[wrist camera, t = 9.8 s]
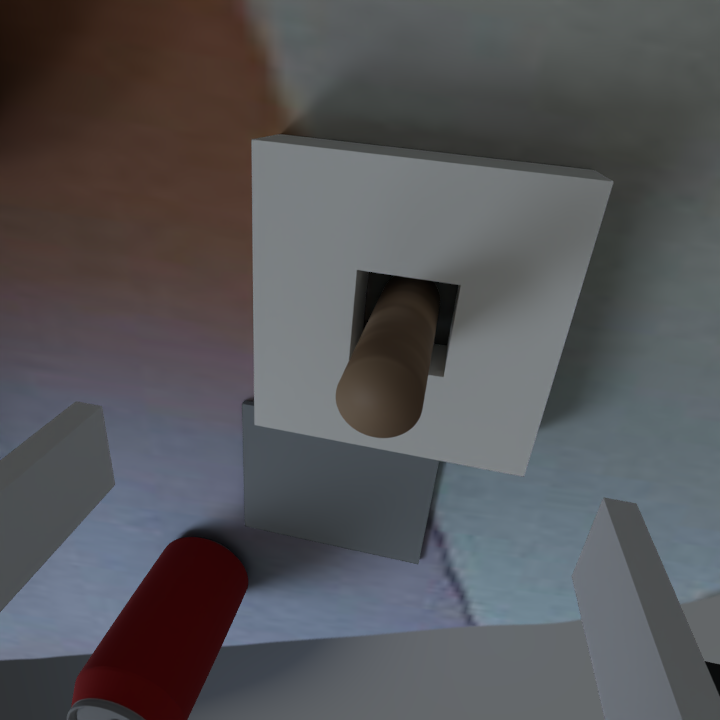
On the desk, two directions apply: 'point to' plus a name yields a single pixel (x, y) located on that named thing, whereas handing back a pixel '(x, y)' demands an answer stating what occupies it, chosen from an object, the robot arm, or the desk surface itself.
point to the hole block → (420, 261)
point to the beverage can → (164, 637)
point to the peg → (391, 360)
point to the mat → (335, 491)
